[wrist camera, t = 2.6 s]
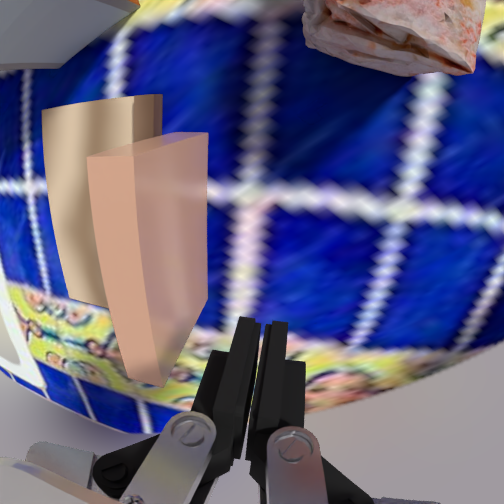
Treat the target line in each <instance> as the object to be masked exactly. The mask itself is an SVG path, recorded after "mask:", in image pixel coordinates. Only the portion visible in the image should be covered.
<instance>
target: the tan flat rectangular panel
mask: <svg viewBox="0 0 504 504" xmlns="http://www.w3.org/2000/svg"><path fill="white" fill-rule="evenodd" d="M42 132H43V149H44V162H45V172H46V181H47V189H48V197H49V204H50V210H51V216H52V222H53V228H54V233H55V238H56V243H57V248H58V253H59V257H60V261H61V266H62V270H63V274H64V278H65V282H66V286H67V289H68V293H69V297H70V298H71V299H75V300H79V301H82V302H86V303H90V304H94V305H98V306H101V307H105V308H109V306H108V302H107V297H106V293H105V288H104V283H103V278H102V273H101V268H100V263H99V257H98V251H97V245H96V239H95V232H94V225H93V218H92V210H91V202H90V193H89V182H88V170H87V157H88V156H91V155H94V154H97V153H100V152H104V151H107V150H110V149H113V148H117V147H120V146H124V145H127V144H131V143H134V96H131V97H121V98H112V99H104V100H97V101H90V102H83V103H77V104H71V105H65V106H60V107H55V108H50V109H45V110H42Z"/></svg>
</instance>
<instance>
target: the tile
mask: <svg viewBox="0 0 504 504" xmlns="http://www.w3.org/2000/svg"><path fill="white" fill-rule="evenodd" d="M207 161H208V133H199V132H174V133H169V134H165V135H161V136H157V137H153V138H149V139H145V140H142V141H138V142H134V143H131V144H127V145H124V146H120V147H117V148H113V149H110V150H107V151H104V152H100V153H97V154H94V155H91V156H88V157H87V170H88V182H89V193H90V202H91V210H92V218H93V225H94V232H95V239H96V245H97V251H98V257H99V263H100V268H101V273H102V278H103V283H104V288H105V293H106V297H107V302H108V306H109V310H110V314H111V319H112V323H113V327H114V330H115V334H116V338H117V342H118V345H119V349H120V352H121V356H122V359H123V362H124V366H125V369H126V372H127V375H128V378H131V379H134V380H137V381H141V382H144V383H148V384H151V385H155V386H159V387H162V388H163V387H164V385H165V383H166V381H167V379H168V377H169V375H170V373H171V371H172V369H173V367H174V365H175V363H176V361H177V359H178V357H179V355H180V353H181V351H182V349H183V347H184V345H185V343H186V341H187V339H188V337H189V335H190V333H191V331H192V329H193V327H194V325H195V323H196V321H197V319H198V317H199V315H200V313H201V311H202V309H203V307H204V305H205V303H206V301H207V299H208V286H207Z"/></svg>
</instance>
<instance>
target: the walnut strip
mask: <svg viewBox="0 0 504 504" xmlns="http://www.w3.org/2000/svg"><path fill="white" fill-rule="evenodd" d="M162 97H163V94H150V95H138V96H134V142H138V141H142V140H145V139H149V138H153V137H157V136H161V135H162Z"/></svg>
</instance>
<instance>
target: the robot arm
mask: <svg viewBox="0 0 504 504" xmlns="http://www.w3.org/2000/svg"><path fill="white" fill-rule="evenodd" d="M260 330H261V323H255V318H248V317H241V316H240V317H239V320H238V323H237V327H236V330H235V334H234V337H233V341H232V344H231V348H230V351H229V352H223V351H217V350H212V352H211V354H210V357H209V360H208V363H207V366H206V368H205V371H204V374H203V377H202V380H201V383H200V386H199V388H198V391H197V394H196V397H195V400H194V403H193V406H192V408H191V411H189V412H182V413H179V414H177V415H175V416H174V417H172V418H171V419H170V420H169V421H168V423H167V424H166V426H165V427H164V429H163V431H162V432H161V434H158V435H156V436H154V437H151V438H149V439H146V440H143V441H141V442H138V443H136V444H133V445H130V446H128V447H125V448H122V449H119V450H117V451H114V452H111V453H108V454H106V455H104V456H100V455H95V454H94V452H89V451H84V450H79V449H74V448H70V447H65V446H61V445H56V444H52V443H48V442H38V443H35V444H34V445H32V446H31V447H30V449H29V451H28V453H27V456H26V459H25V461H24V460H19V459H15V458H9V457H0V504H207V503H208V501H209V499H210V497H211V494H212V492H213V490H214V488H215V485H216V483H217V481H218V478H219V476H221V475H223V474H225V473H227V472H228V471H229V470H230V466H233V461H234V458H235V459H240V457H241V453H242V448H243V443H244V438H245V432H246V428H247V422H248V417H249V412H250V418H249V428H248V439H247V448H246V458H245V460H248V461H251V466H250V473H249V474H250V475H251V476H252V478H253V479H254V480H255V481H256V482H257V483H258V495H259V504H440V503H438V502H434V501H417V500H404V499H394V498H386V497H382V498H381V499H377V498H371V497H370V496H369V495H368V494H367V493H365V492H364V491H363V490H362V489H360V488H359V487H358V486H357V485H355V484H354V483H353V482H352V481H350V480H349V479H348V478H347V477H346V476H344V475H343V474H342V473H341V472H340V471H338V470H337V469H336V468H335V467H334V466H333V465H331V464H330V463H329V462H328V461H327V460H326V459H324V458H323V457H322V456H321V453H320V447H319V443H318V441H317V438H316V437H315V436H314V435H313V434H312V433H311V432H310V431H308V430H307V429H304V411H305V377H306V363H305V362H302V361H292V360H285V357H286V345H287V332H288V322H281V321H273V322H272V325H270V324H266V326H265V332H264V338H263V344H262V350H261V355H260V361H259V367H258V372H257V378H256V370H257V360H258V350H259V340H260ZM255 379H256V383H255ZM254 385H255V389H254ZM253 390H254V394H253ZM252 396H253V400H252ZM251 401H252V405H251ZM250 407H251V411H250Z"/></svg>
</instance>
